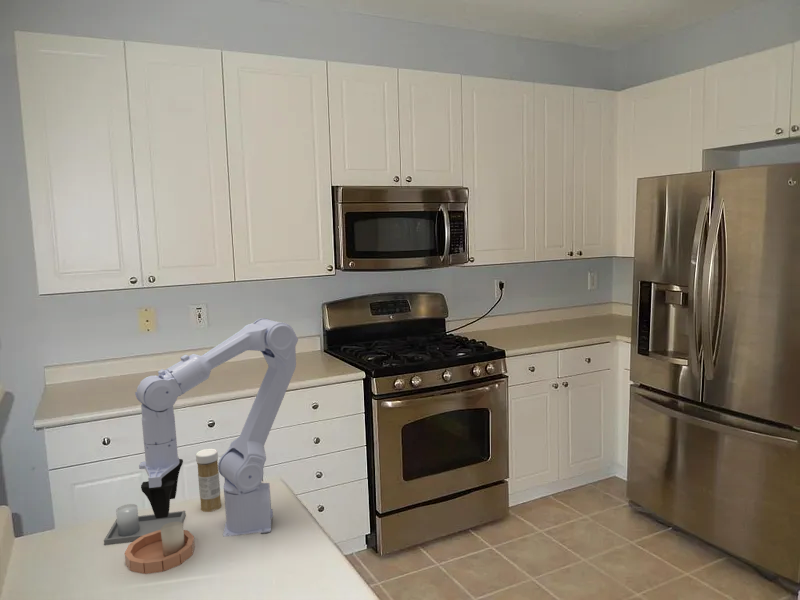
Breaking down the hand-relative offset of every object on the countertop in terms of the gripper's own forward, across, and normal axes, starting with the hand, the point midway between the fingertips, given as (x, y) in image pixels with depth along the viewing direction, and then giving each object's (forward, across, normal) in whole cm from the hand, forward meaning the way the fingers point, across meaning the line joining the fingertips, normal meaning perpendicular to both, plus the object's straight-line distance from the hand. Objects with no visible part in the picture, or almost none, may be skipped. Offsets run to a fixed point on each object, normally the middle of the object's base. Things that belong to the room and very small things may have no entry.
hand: (166, 507), depth 113 cm
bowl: (+9, +1, -1) cm, 10 cm away
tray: (+9, -10, -6) cm, 15 cm away
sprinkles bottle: (+10, -17, +6) cm, 20 cm away
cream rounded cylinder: (+9, +1, +1) cm, 9 cm away
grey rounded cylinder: (+9, -10, -10) cm, 17 cm away
